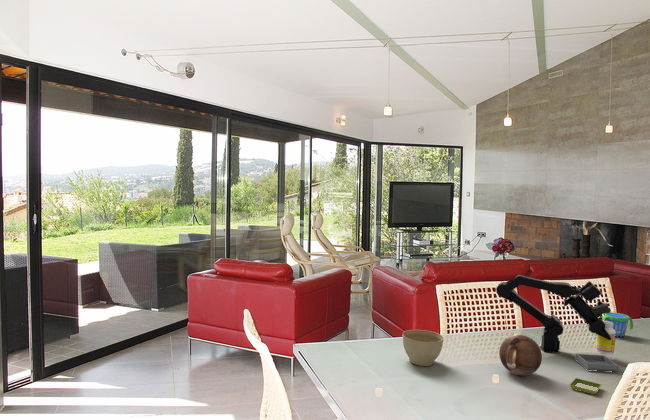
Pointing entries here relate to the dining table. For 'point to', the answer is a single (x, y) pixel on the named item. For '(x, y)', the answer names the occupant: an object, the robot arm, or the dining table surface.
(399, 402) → the dining table surface
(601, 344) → the supplement bottle
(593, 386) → the green rectangular frame
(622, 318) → the snack cup
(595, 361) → the tray
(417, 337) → the planter bowl
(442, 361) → the dining table surface
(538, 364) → the wooden sphere
